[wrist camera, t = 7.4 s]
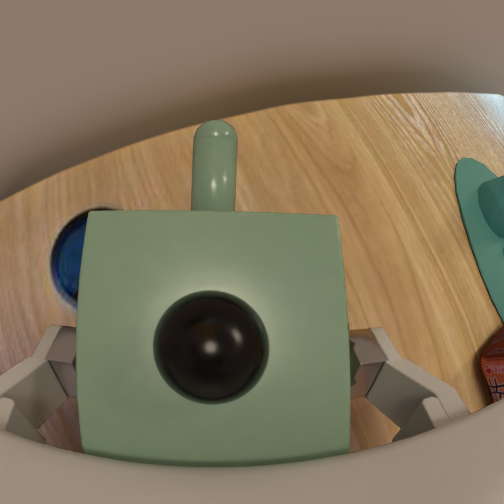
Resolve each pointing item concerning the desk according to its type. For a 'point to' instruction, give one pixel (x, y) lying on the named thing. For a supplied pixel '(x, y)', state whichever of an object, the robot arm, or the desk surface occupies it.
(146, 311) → the kettle
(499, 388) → the snack package
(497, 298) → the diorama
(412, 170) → the desk surface
